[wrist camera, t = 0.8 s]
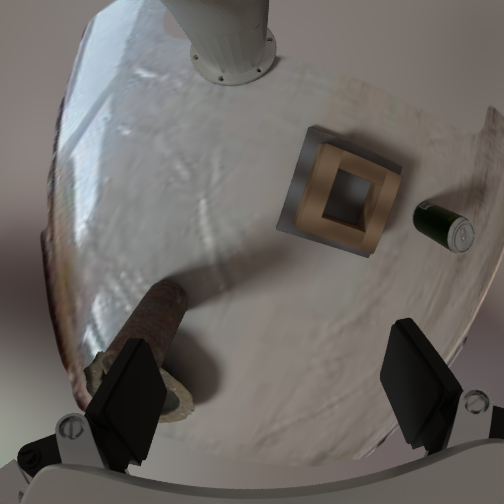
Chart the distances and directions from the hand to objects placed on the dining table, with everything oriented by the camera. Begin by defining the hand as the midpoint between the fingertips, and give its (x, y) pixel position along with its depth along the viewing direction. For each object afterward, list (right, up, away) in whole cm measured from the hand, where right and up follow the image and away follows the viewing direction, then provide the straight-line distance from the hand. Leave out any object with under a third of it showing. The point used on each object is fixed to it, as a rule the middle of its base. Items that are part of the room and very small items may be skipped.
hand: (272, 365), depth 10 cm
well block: (+13, +13, +30) cm, 35 cm away
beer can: (+29, +10, +31) cm, 43 cm away
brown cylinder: (-15, -4, +37) cm, 40 cm away
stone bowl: (-25, -23, +45) cm, 56 cm away
